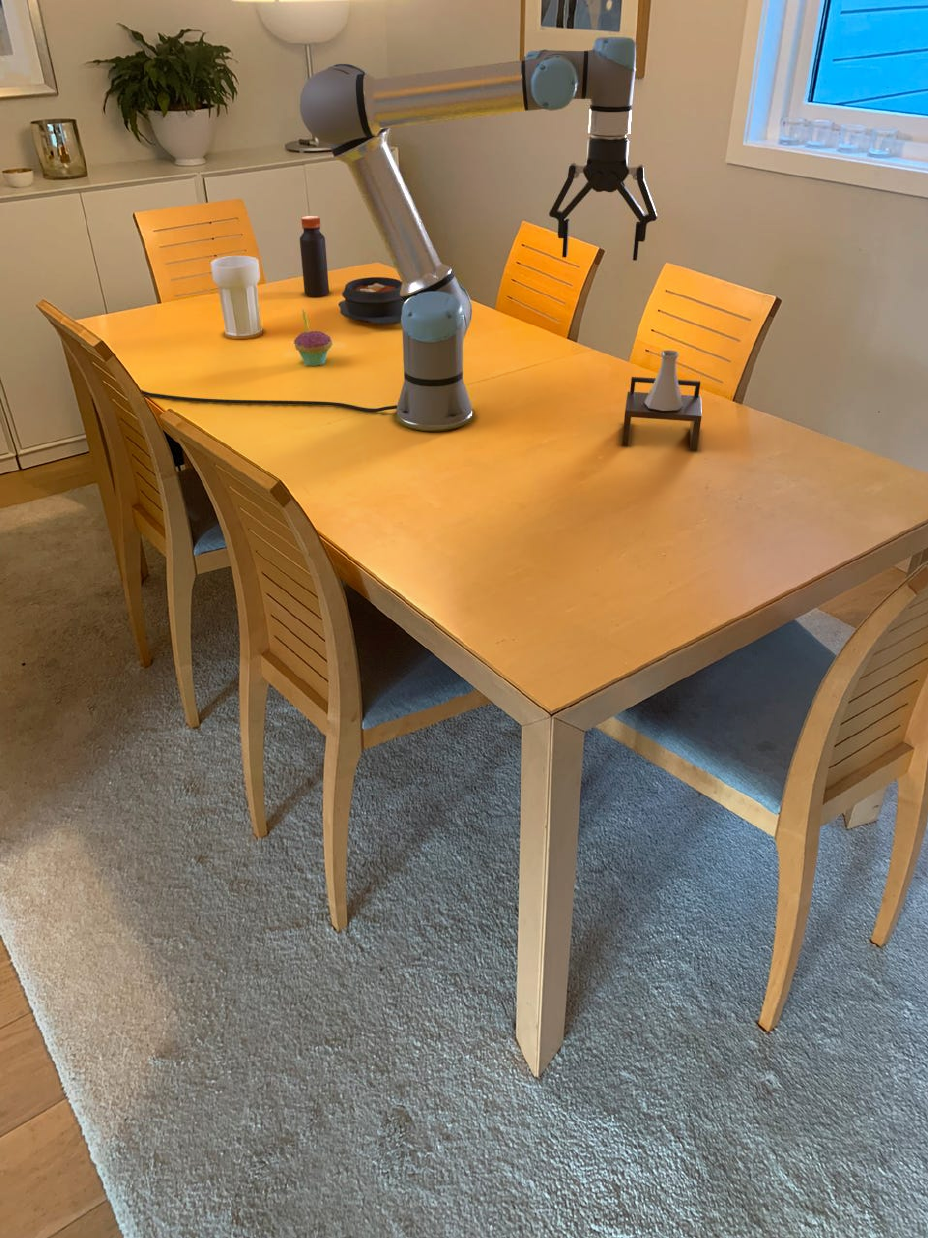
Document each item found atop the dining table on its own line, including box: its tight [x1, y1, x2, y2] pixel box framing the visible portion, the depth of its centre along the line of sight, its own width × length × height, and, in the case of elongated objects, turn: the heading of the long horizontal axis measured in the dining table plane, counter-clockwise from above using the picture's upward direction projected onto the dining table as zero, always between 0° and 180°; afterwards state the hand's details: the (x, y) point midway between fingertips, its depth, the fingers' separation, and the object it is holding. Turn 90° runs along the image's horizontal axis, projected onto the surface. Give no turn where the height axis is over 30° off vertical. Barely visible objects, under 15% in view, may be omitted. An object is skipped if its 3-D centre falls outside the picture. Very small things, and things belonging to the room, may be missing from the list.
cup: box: [209, 255, 263, 340], centre depth 235 cm, size 11×11×17 cm
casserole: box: [337, 276, 404, 325], centre depth 248 cm, size 25×19×8 cm
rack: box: [621, 376, 703, 452], centre depth 184 cm, size 14×10×10 cm
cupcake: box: [293, 308, 333, 367], centre depth 219 cm, size 9×8×12 cm
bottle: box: [299, 215, 330, 298], centre depth 263 cm, size 7×7×20 cm
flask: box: [645, 350, 683, 411], centre depth 179 cm, size 7×7×10 cm
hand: (599, 257), depth 187 cm, fingers open, 13 cm apart
